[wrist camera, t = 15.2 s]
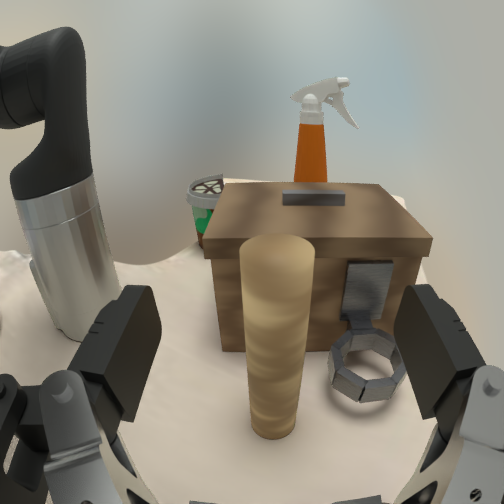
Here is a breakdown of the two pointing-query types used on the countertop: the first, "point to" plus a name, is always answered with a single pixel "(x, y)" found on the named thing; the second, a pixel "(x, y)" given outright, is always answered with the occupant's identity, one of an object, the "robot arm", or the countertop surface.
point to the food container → (204, 200)
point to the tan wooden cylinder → (275, 326)
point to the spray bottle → (316, 127)
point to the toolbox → (324, 242)
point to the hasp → (365, 332)
